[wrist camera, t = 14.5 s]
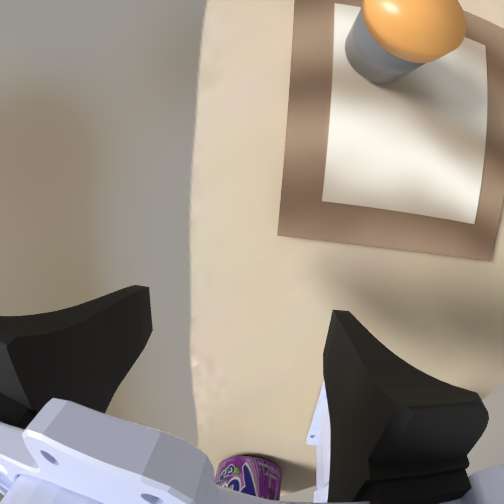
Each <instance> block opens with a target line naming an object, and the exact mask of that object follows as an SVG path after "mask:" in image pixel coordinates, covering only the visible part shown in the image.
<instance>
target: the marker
mask: <svg viewBox="0 0 504 504" xmlns="http://www.w3.org/2000/svg"><path fill="white" fill-rule="evenodd" d="M465 34H466V20H465V16H464V12H463V10H462V8H461V6H460V4H459V2H458V0H363V1H362V6H361V9H360V11H359V13H358V15H357V17H356V19H355V21H354V23H353V26H352V28H351V30H350V32H349V34H348V36H347V38H346V41H345V54H346V57H347V59H348V62H349V63H350V65H351V66H352V68H353V69H354V70H355V71H356V72H357V73H358V74H359V75H361V76H362V77H364V78H366V79H367V80H370V81H372V82H376V83H391V82H394V81H397V80H398V79H400V78H402V77H403V76H405V75H407V74H408V73H410V72H412V71H413V70H415V69H417V68H419V67H420V66H422V65H424V64H425V63H429V62H432V61H435V60H437V59H439V58H441V57H443V56H444V55H446V54H448V53H450V52H452V51H454V50H456V49H457V48H458V47H459V46H460V45H461V44H462V42H463V40H464V38H465Z"/></svg>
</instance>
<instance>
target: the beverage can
mask: <svg viewBox="0 0 504 504" xmlns="http://www.w3.org/2000/svg"><path fill="white" fill-rule="evenodd" d="M281 478H282V472H281V470H280V469H279V467H278V466H276V465H275V464H273V463H272V462H269V461H267V460H264V459H261V458H256V457H249V456H237V457H231V458H227V459H225V460H223V461H222V462H221V463H220V464H219V466H218V470H217V473H216V477H215V484H216V485H219V486H222V487H225V488H228V489H231V490H235V491H238V492H241V493H245V494H248V495H252V496H256V497H260V498H263V499H267V500H275V501H279V499H280V489H281Z"/></svg>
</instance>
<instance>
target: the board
mask: <svg viewBox="0 0 504 504" xmlns="http://www.w3.org/2000/svg"><path fill="white" fill-rule="evenodd" d="M362 1H363V0H295V3H294V23H293V41H292V57H291V73H290V88H289V102H288V116H287V129H286V142H285V155H284V167H283V179H282V190H281V202H280V213H279V224H278V234H277V236H284V237H294V238H303V239H312V240H321V241H330V242H339V243H348V244H357V245H366V246H374V247H383V248H391V249H399V250H407V251H416V252H424V253H431V254H439V255H447V256H455V257H462V258H470V259H477V260H485V261H490V259H491V255H492V251H493V247H494V243H495V239H496V234H497V230H498V225H499V220H500V215H501V210H502V204H503V198H504V29H503V28H501V27H499V26H497V25H495V24H493V23H491V22H489V21H487V20H484V19H482V18H480V17H478V16H475V15H473V14H471V13H469V12H466V11H464V10H463V12H464V16H465V20H466V34H465V38H464V40H463V42H462V44H461V45H460V46H459V47H458V48H457V49H456V50H454V51H452V52H450V53H448V54H446V55H444V56H443V57H441V58H439V59H437V60H435V61H432V62H429V63H425V64H424V65H422V66H420V67H419V68H417V69H415V70H413V71H412V72H410V73H408V74H407V75H405V76H403V77H402V78H400V79H398V80H397V81H394V82H391V83H376V82H372V81H370V80H367V79H366V78H364V77H362V76H361V75H359V74H358V73H357V72H356V71H355V70H354V69H353V68H352V66H351V65H350V63H349V62H348V59H347V57H346V54H345V41H346V38H347V36H348V34H349V32H350V30H351V28H352V26H353V23H354V21H355V19H356V17H357V15H358V13H359V11H360V9H361V6H362Z"/></svg>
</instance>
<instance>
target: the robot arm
mask: <svg viewBox="0 0 504 504" xmlns="http://www.w3.org/2000/svg"><path fill="white" fill-rule="evenodd" d="M152 330H153V329H152V318H151V307H150V294H149V287H145V286H138V285H134V286H130V287H127V288H124V289H121V290H118V291H115V292H113V293H110V294H108V295H105V296H102V297H100V298H97V299H94V300H91V301H89V302H86V303H83V304H80V305H77V306H74V307H70V308H66V309H63V310H58V311H54V312H48V313H42V314H35V315H26V316H0V493H2V494H3V495H4V498H3V500H2V501H1V502H0V504H504V465H498V466H495V467H492V468H488V469H484V470H481V471H478V472H475V473H473V474H472V475H470V476H469V477H468V476H467V473H466V470H465V469H466V468H468V466H469V460H468V458H467V454H468V453H469V452H470V450H471V449H472V448H473V447H474V445H475V444H476V443H477V441H478V440H479V438H480V437H481V436H482V434H483V432H484V430H485V429H486V427H487V424H488V420H489V416H488V411H487V409H486V408H485V406H484V404H483V402H482V400H481V399H480V397H479V395H478V393H476V392H472V391H469V390H466V389H462V388H459V387H456V386H453V385H450V384H448V383H445V382H443V381H440V380H438V379H436V378H434V377H431V376H429V375H427V374H426V373H424V372H422V371H420V370H418V369H416V368H415V367H413V366H411V365H410V364H408V363H407V362H405V361H404V360H402V359H401V358H399V357H398V356H397V355H395V354H394V353H393V352H391V351H390V350H389V349H388V348H386V347H385V346H384V345H383V344H382V343H381V342H379V341H378V340H377V339H376V338H375V337H374V336H373V335H372V334H371V333H370V332H369V331H368V330H367V329H366V328H365V327H364V326H363V325H362V324H361V323H360V322H359V321H358V320H357V319H356V318H355V317H354V316H353V315H352V314H351V313H350V312H349V311H341V310H333V311H332V316H331V321H330V326H329V330H328V335H327V339H326V344H325V348H324V353H323V375H324V381H323V384H322V388H321V392H320V395H319V399H318V402H317V406H316V409H315V413H314V416H313V419H312V423H311V426H310V429H309V432H308V435H307V439H306V443H307V444H308V445H316V489H317V490H316V491H314V499H313V501H314V502H313V503H307V502H287V501H275V500H267V499H263V498H260V497H256V496H252V495H248V494H245V493H241V492H238V491H235V490H231V489H228V488H225V487H222V486H219V485H216V484H215V481H214V468H213V466H212V464H211V462H210V460H209V459H208V457H207V455H206V454H205V453H204V452H203V451H201V450H200V449H198V448H197V447H196V446H194V445H193V444H191V443H190V442H189V441H187V440H186V439H183V438H180V437H178V436H175V435H172V434H170V433H167V432H165V431H162V430H158V429H154V428H150V427H146V426H143V425H140V424H136V423H133V422H129V421H126V420H123V419H120V418H117V417H113V416H111V415H108V414H105V412H106V410H107V407H108V405H109V403H110V401H111V399H112V397H113V395H114V393H115V391H116V390H117V388H118V386H119V385H120V383H121V382H122V380H123V379H124V377H125V376H126V375H127V373H128V372H129V370H130V369H131V367H132V366H133V364H134V363H135V361H136V360H137V358H138V357H139V355H140V354H141V352H142V351H143V349H144V348H145V346H146V343H147V341H148V339H149V337H150V335H151V333H152Z"/></svg>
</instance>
